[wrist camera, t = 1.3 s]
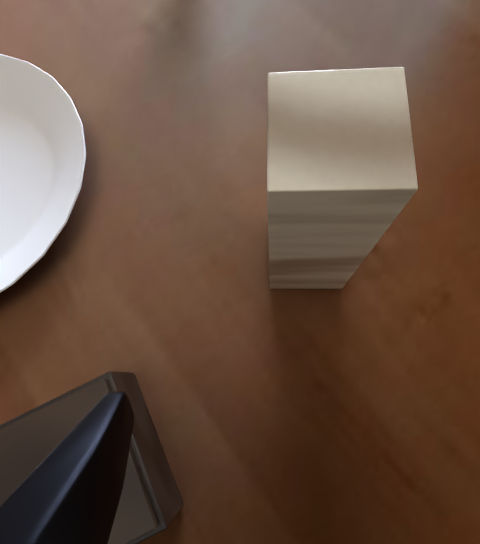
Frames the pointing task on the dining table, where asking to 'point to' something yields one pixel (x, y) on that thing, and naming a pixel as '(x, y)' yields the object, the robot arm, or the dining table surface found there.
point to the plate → (35, 165)
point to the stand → (140, 467)
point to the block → (334, 170)
